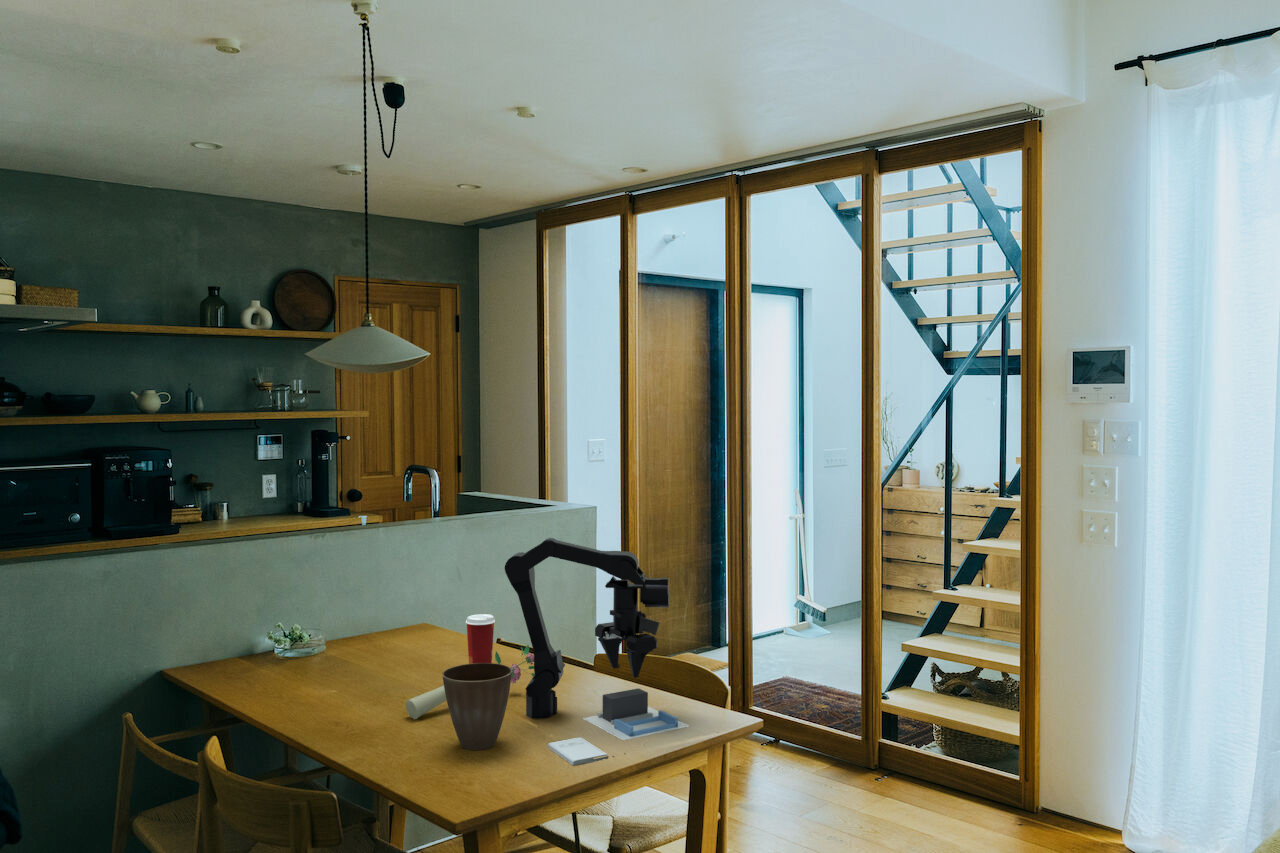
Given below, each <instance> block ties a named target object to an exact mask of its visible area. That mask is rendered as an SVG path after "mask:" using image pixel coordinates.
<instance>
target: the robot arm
mask: <svg viewBox="0 0 1280 853" xmlns="http://www.w3.org/2000/svg"><path fill="white" fill-rule="evenodd" d="M551 557H552V558H555V559H560V560H564V561H568V562H572V563H575V564H580V565H585V566H589V567H594V568H597V569H599V570H602V571H603V572H605V573H607V574H609V575H611V578H610V579H609V581H607V582H606V584H604V585H605V586H604V587H605V588H606V589H613V602H612V603H613V604H612V605H613V607H612V608H613V609H610V610H609V615H610V616H612V617H613V618H612V620H613V621H611V622H603V623H598V624H597V625H596V626H595V628H594V636H595V637H596V638H597V641H599V643H600V644H601V646H602V649H603V650H604V652H605V656H607V660H608V661H609V663H610V666H611V667H612V669H614V670H615V669H617V668H618V666H619V665H618V663H619V656H620V655H619V654H620V646H621V644H622V642H623V641H626V646H627V649H626V654H627V657H628V658H627V659H628V662H629V667H630V671H631V673H632V677H633V678H634V679H635V678H638V677H639V676H640V672H641V669H642V666H643V664H644V661H645V659H646V657H647V655H648V654H649V653H650V652H653V651H655V649H658V639H657V638H656V637H655V636H656V635H657V633H658V629H659V628H660V627H659V626H660V622H659V621H657V620H653V619H649V618H647V614H646V613H644V612H642V610H639V605H638V604H639V603H638V602H639V601H640V603H642V605H644V607H645V608H670V588H669V586H670V585H669V577H660V578H657V577H656V578H653V577H652V578H651V577H650V578H648V577H647V575H646V574H645V572H643V570H642V568H641V567H640V563H639V559H638V558H637V556H636V554H634V553H633V552H631V551H625V550H624V551H623V550H599V549H596V548H593V547H592V548H591V547H589V546H588V547H587V546H583V545H579V544H576V543H571V542H566V541H563V540H562V541H561V540H559V539H555V538H553V537H549V538H546V539H545V540H543V541H542V542H541V543H540V544H537V545H536V546H534V547H533V548H531V549H530V550H529V549H528V551H526V552H523V551H522V552H517V553H515V554H513V555H512V556H511V557H509V558H508V559H507V560H506V562H505V564H504V573H505V575H506V577H507V580H508V581H509V583H510V585H511V587H512V588H513V590H514V591H515V592H516V593H517V596H518V599H519V604H520V607H521V608H520V609H521V611H522V614H523V618H524V623H525V625H526V628H527V632H528V636H529V639H530V644H531V647H532V651H533V655H534V662H533V666H534V669H533V670H534V671H533V673H534V674H535V676H534V677H533V676H532V678H531V679H530V681H529V683H528V684H527V686H526V687H525V697H526V698H525V699H526V700H525V712H526V713H525V715H526V716H527V717H528V718H529V719H531V720H535V719H536V720H537V719H539V720H542V719H549V718H551V717H553V716H555V715H557V714H558V697H557V695H556V694H557V693H556V690H554V688H555V687H557V686H558V684H559V682H560V681H561V678H562V676H563V675H564V668H565V666H566V664H565V663H564V661H563V658H562V651H561V649H558V650H556V651H555V649H554V647H553V646H552V645H551V641H550V637H549V635H548V631H547V630H548V629H547V628H546V624H545V621H544V617H543V613H542V609H541V606H540V603H539V598H538V596H537V592H536V583H535V582H536V579H535V578H536V572H535V567H536V566H537V565H539V564H541V563H542V562H543V561H544V560H546V559H548V558H551ZM639 590H640V594H639ZM638 594H639V595H640V596H639V595H638ZM638 598H639V599H638ZM638 600H639V601H638ZM645 632H646V633H645ZM651 634H652V635H651Z"/></svg>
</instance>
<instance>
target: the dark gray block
mask: <svg viewBox="0 0 1280 853" xmlns="http://www.w3.org/2000/svg"><path fill="white" fill-rule="evenodd" d="M648 701H649V693H648V691H646V690H644V689H641V688H634V689H627V690H621V691H617V692H610V693H606V694H602V713H603V719H605V720H607V721H609V722H611V720H614V719H621V718H626V717H631V716H636V715H641V714H646V713H648V707H649V704H648V703H649V702H648Z"/></svg>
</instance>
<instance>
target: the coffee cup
mask: <svg viewBox="0 0 1280 853" xmlns="http://www.w3.org/2000/svg"><path fill="white" fill-rule="evenodd" d="M495 623H496V620H495V617H494V616H493V615H492V614H486V613H485V614H484V613H478V614H472V615H469V616H467V618H466V620H465V624H466V632H467V633H466V634H467V635H466V637H467V653H468V655H467V656H468V664H472V663H493V662H492V660H493V649H494V648H493V647H494V631H495V630H494V629H495V628H494V627H495Z"/></svg>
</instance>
